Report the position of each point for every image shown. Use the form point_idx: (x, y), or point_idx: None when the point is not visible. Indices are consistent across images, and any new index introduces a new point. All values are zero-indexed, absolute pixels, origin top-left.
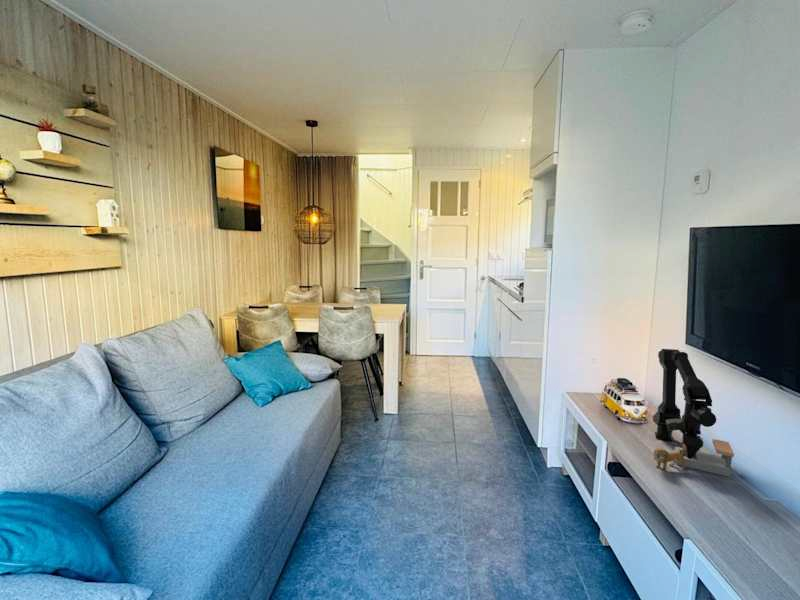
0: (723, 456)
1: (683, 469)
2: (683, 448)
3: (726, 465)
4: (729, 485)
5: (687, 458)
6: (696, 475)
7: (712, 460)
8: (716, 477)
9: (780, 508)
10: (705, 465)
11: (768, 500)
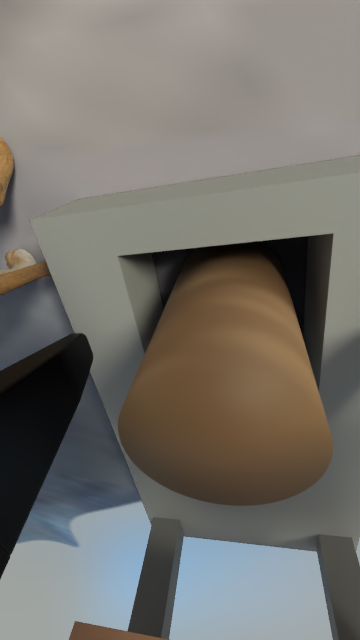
0: (322, 558)
1: (10, 266)
2: (169, 327)
3: (149, 537)
4: (56, 459)
5: (94, 325)
6: (18, 341)
7: None
8: (97, 429)
9: (28, 536)
10: None
11: (53, 528)
